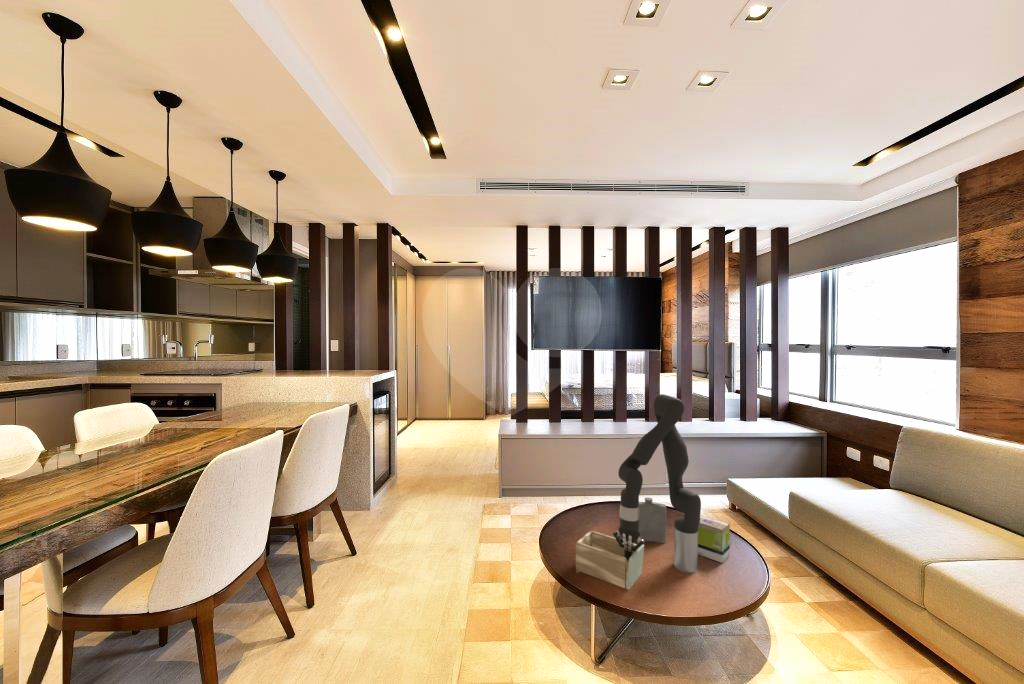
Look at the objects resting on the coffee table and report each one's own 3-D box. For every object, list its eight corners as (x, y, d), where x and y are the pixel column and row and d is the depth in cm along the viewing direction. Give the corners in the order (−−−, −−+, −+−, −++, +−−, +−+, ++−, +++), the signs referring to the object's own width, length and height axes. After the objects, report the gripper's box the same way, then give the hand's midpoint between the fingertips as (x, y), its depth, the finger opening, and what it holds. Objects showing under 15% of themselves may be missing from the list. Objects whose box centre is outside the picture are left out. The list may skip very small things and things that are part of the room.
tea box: (730, 555, 186) (730, 522, 185) (722, 564, 179) (722, 530, 178) (696, 543, 196) (696, 512, 196) (687, 551, 189) (687, 519, 189)
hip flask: (631, 540, 199) (631, 498, 199) (630, 536, 203) (631, 495, 203) (666, 543, 196) (666, 501, 196) (664, 539, 200) (665, 498, 200)
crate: (590, 558, 183) (590, 530, 183) (637, 574, 170) (637, 544, 170) (575, 572, 172) (575, 542, 171) (624, 591, 159) (625, 559, 159)
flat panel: (638, 571, 170) (641, 543, 169) (641, 573, 169) (644, 545, 168) (625, 588, 159) (629, 558, 158) (628, 589, 158) (632, 559, 157)
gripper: (649, 517, 164) (648, 560, 165) (617, 508, 172) (616, 549, 172) (642, 524, 158) (641, 569, 159) (609, 514, 166) (609, 557, 166)
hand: (628, 558), depth 165 cm, fingers closed
